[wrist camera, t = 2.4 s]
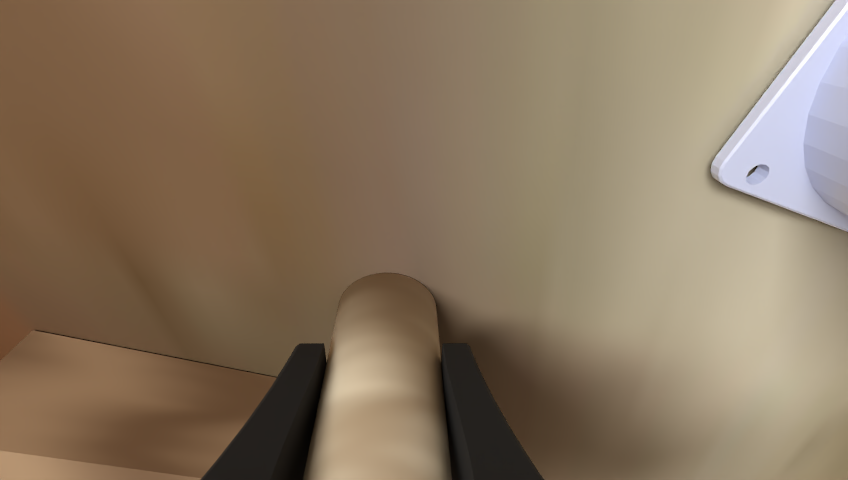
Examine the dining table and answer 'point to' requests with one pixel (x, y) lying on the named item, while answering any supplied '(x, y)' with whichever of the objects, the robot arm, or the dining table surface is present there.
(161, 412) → the wooden square frame
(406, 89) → the dining table surface
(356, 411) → the tan round log
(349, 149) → the dining table surface
